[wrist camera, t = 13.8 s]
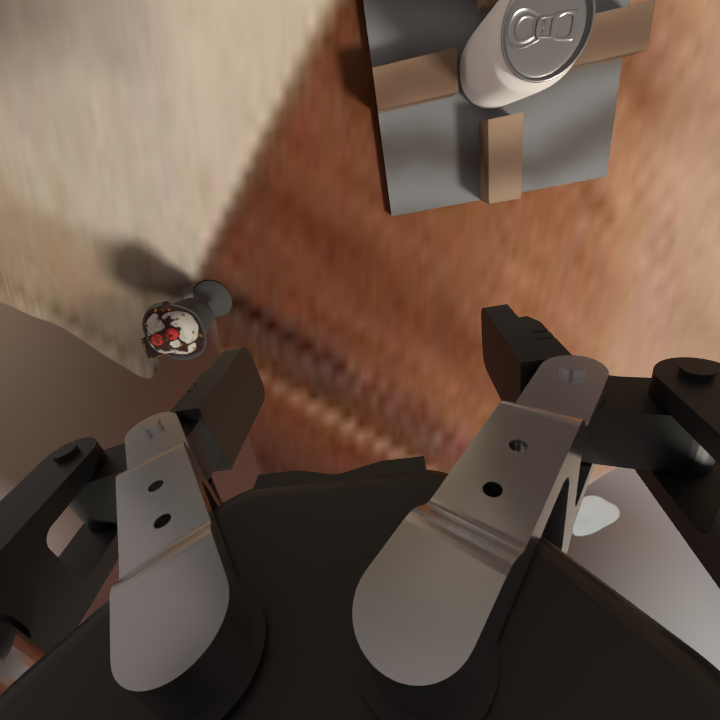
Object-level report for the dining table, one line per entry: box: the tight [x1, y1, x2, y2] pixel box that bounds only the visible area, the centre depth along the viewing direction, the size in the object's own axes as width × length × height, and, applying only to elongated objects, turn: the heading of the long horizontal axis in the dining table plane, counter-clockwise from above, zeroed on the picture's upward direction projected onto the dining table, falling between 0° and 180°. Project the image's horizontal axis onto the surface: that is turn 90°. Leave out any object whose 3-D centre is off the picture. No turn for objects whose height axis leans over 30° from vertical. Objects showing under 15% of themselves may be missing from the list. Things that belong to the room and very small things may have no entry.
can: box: [460, 0, 596, 109], centre depth 28 cm, size 6×6×12 cm
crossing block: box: [363, 0, 655, 216], centre depth 32 cm, size 22×22×4 cm
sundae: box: [141, 280, 232, 360], centre depth 40 cm, size 7×7×15 cm
